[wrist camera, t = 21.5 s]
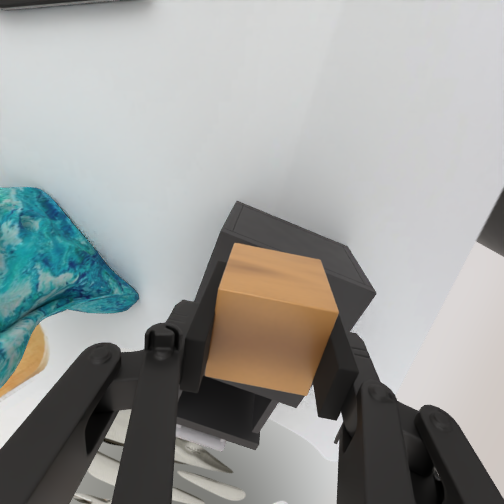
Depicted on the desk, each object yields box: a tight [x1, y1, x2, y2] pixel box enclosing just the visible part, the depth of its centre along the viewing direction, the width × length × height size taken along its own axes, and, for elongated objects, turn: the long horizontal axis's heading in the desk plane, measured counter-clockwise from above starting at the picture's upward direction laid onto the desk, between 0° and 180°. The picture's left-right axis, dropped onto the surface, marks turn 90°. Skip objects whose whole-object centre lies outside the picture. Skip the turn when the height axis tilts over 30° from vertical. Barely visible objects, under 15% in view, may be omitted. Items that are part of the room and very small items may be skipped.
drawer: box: [176, 376, 278, 452], centre depth 34 cm, size 20×12×8 cm, turn 158°
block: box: [205, 243, 339, 396], centre depth 15 cm, size 5×5×5 cm
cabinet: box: [194, 201, 376, 408], centre depth 29 cm, size 15×13×10 cm
